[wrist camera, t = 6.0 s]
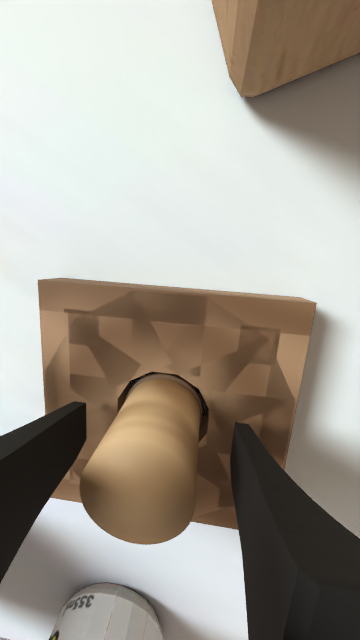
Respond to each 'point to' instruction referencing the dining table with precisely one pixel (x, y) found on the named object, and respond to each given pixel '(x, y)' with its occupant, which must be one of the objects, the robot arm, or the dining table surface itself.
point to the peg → (147, 463)
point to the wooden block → (284, 39)
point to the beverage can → (107, 616)
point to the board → (176, 367)
